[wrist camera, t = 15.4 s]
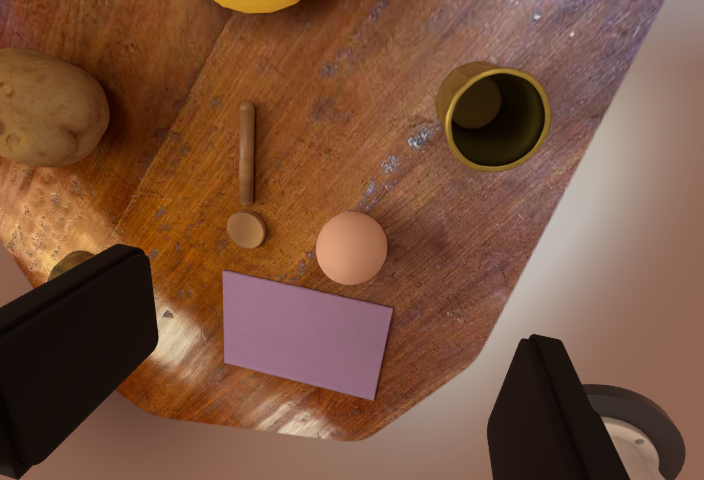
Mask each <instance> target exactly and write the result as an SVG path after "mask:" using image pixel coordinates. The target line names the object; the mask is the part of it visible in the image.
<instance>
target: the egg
mask: <svg viewBox="0 0 704 480" xmlns="http://www.w3.org/2000/svg"><path fill="white" fill-rule="evenodd" d="M316 255H317V259H318V263H319V265H320V267H321V269H322V270H323V272H324V273H325V274H326V275H327V276H328V277H329V278H330V279H332V280H333V281H335V282H338V283H340V284H344V285H355V284H359V283H362V282H366V281H367V280H369V279H371V278H372V277H373V276H374V275H376V274H377V272H378V271H379V270H380V269H381V267H382V265H383V263H384V261H385V259H386V255H387V239H386V236H385V233H384V231H383V229H382V227H381V226H380V224H379V223H378V222H376V221H375V220H374V219H373V218H372V217H370V216H368V215H366V214H363V213H359V212H344V213H342V214H339V215H336V216H334V217H333V218H332V219H330V220H329V221H328V222H327V223H326V224H325V225H324V227H323V228H322V230H321V232H320V234H319V236H318V239H317V243H316Z"/></svg>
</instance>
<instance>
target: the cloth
mask: <svg viewBox="0 0 704 480" xmlns="http://www.w3.org/2000/svg"><path fill="white" fill-rule="evenodd" d="M223 309H224V359H225V363H229V364H232V365H236V366H240V367H244V368H248V369H252V370H256V371H260V372H264V373H268V374H272V375H275V376H279V377H283V378H287V379H291V380H295V381H299V382H303V383H307V384H311V385H315V386H318V387H322V388H326V389H330V390H334V391H338V392H342V393H346V394H350V395H354V396H358V397H361V398H365V399H369V400H374V396H375V391H376V387H377V382H378V377H379V372H380V368H381V363H382V358H383V353H384V349H385V344H386V339H387V334H388V330H389V325H390V320H391V315H392V311H393V307H389V306H384V305H380V304H375V303H371V302H366V301H362V300H357V299H353V298H348V297H344V296H339V295H335V294H330V293H326V292H321V291H317V290H312V289H308V288H303V287H299V286H294V285H290V284H286V283H281V282H277V281H272V280H268V279H263V278H259V277H254V276H250V275H245V274H241V273H236V272H232V271H227V270H223Z"/></svg>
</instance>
